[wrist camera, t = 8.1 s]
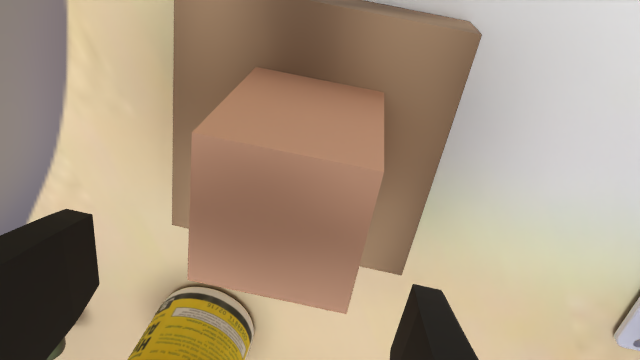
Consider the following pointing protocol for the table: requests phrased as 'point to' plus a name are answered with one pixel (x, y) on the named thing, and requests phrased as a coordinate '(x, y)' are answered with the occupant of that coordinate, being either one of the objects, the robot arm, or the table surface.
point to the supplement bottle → (197, 328)
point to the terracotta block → (286, 188)
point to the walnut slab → (339, 67)
